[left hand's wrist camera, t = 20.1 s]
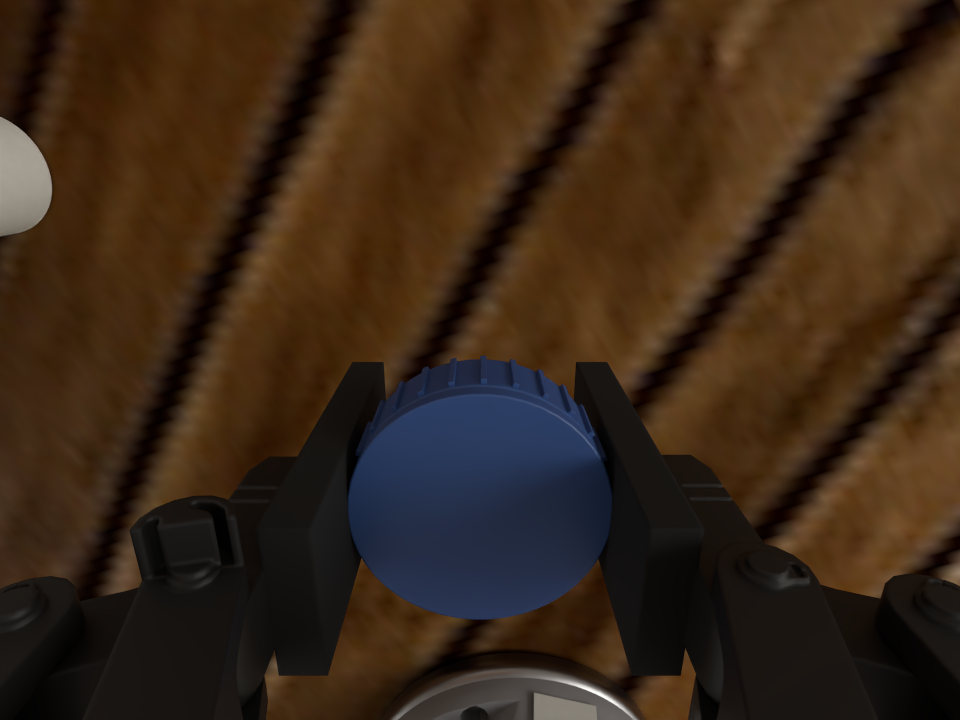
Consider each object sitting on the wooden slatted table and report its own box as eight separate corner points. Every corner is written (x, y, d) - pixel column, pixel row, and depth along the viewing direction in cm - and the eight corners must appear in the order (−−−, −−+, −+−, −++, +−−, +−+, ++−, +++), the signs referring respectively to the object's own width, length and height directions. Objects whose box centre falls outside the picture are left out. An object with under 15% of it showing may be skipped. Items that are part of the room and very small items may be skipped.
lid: (637, 395, 11) (664, 438, 10) (550, 586, 13) (560, 648, 11) (396, 322, 11) (382, 353, 9) (337, 529, 12) (315, 587, 11)
